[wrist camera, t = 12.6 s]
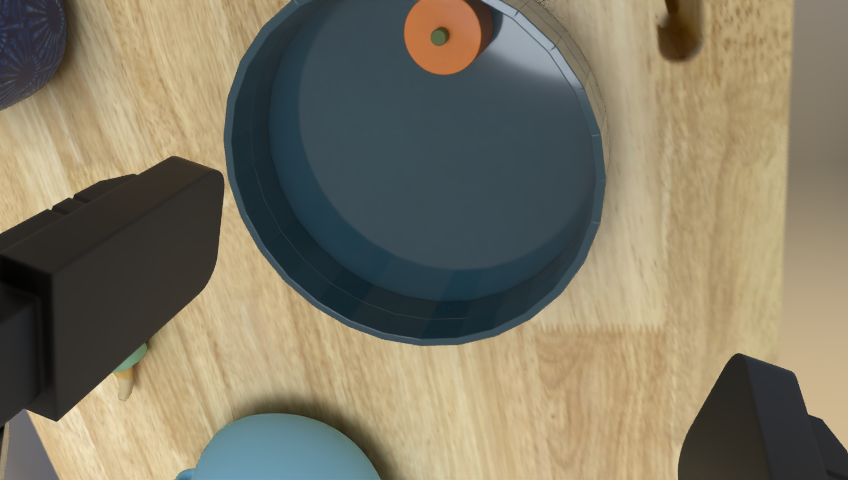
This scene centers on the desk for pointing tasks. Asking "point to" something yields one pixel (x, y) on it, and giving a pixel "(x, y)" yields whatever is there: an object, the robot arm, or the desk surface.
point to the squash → (447, 33)
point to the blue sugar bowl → (281, 452)
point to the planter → (29, 46)
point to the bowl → (417, 168)
